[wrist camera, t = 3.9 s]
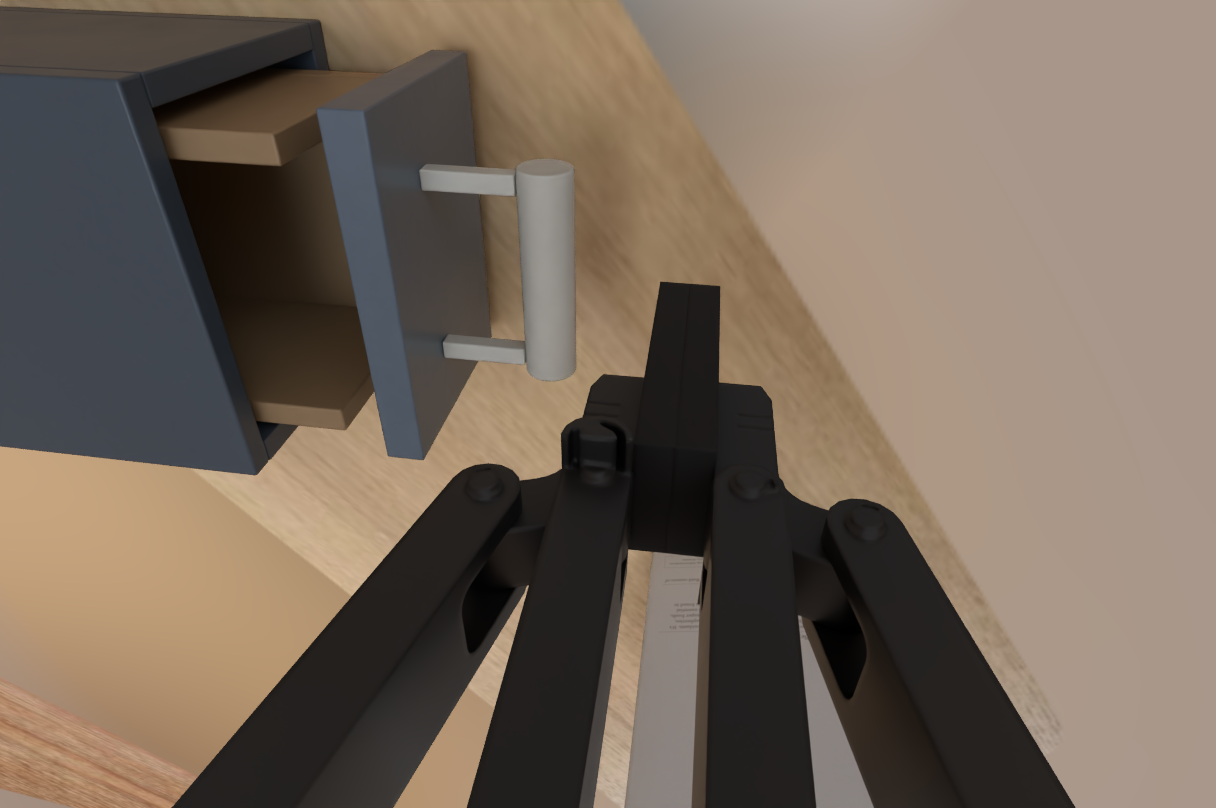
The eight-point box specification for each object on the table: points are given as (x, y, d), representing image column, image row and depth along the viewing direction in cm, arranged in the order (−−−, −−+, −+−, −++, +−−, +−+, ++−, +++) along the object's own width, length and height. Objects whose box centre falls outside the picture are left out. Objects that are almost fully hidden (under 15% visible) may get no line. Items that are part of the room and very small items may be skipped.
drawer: (601, 57, 22) (548, 120, 16) (598, 346, 28) (559, 476, 22) (104, 34, 24) (-120, 84, 18) (201, 311, 30) (59, 421, 24)
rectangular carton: (670, 658, 40) (643, 985, 28) (650, 545, 35) (606, 881, 23) (839, 662, 38) (887, 1014, 26) (842, 542, 34) (903, 907, 21)
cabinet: (320, 19, 24) (117, 79, 16) (379, 328, 30) (257, 476, 23) (-49, 4, 25) (-400, 52, 17) (85, 302, 32) (-124, 433, 24)
